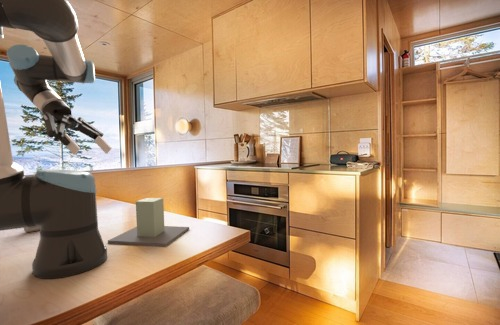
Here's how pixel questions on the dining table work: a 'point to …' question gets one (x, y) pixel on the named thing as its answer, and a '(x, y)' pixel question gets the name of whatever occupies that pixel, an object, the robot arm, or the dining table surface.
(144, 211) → the sage block
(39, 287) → the dining table surface
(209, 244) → the dining table surface
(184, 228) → the mat
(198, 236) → the dining table surface
